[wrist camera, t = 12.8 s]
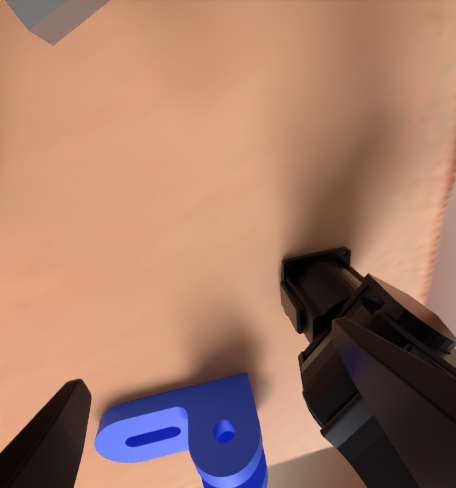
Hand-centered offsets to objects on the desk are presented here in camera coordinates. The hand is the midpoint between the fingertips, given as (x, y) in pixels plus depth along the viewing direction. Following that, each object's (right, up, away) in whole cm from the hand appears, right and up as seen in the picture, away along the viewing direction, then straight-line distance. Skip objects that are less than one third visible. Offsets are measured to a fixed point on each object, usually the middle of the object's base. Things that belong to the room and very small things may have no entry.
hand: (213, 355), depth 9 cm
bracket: (-5, -16, +22) cm, 28 cm away
